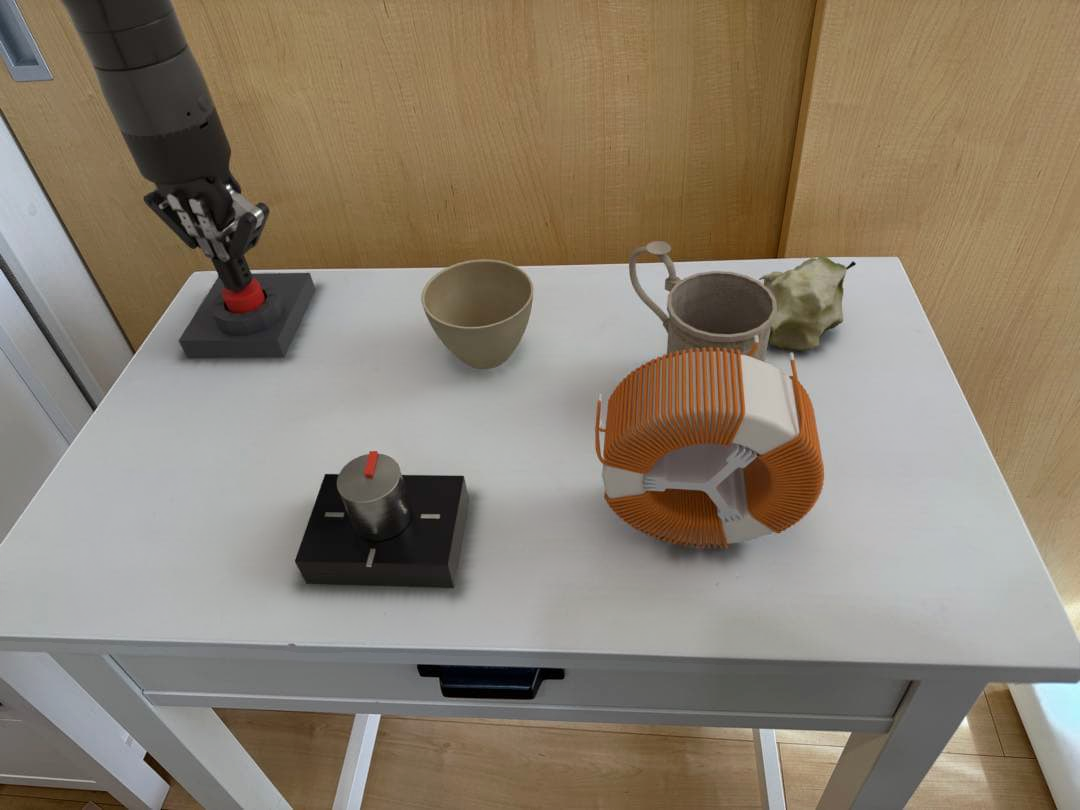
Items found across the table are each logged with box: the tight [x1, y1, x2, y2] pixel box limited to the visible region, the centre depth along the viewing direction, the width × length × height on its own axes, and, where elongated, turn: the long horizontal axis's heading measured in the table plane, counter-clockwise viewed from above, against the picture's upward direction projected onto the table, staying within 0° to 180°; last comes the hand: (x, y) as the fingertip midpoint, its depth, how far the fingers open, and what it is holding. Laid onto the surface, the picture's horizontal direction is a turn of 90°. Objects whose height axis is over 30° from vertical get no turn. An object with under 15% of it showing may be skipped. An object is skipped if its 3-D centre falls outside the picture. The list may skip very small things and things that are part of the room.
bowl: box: [421, 258, 534, 370], centre depth 70 cm, size 10×10×7 cm
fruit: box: [758, 254, 857, 352], centre depth 70 cm, size 9×9×8 cm
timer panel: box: [294, 473, 470, 589], centre depth 57 cm, size 11×9×3 cm
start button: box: [222, 279, 265, 313], centre depth 74 cm, size 4×4×2 cm
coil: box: [594, 335, 825, 549], centre depth 53 cm, size 7×15×15 cm, turn 83°
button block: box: [178, 272, 316, 358], centre depth 77 cm, size 11×10×4 cm
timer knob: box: [337, 450, 412, 541], centre depth 54 cm, size 4×4×5 cm
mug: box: [628, 240, 777, 362], centre depth 64 cm, size 14×10×12 cm
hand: (239, 285), depth 74 cm, fingers closed
